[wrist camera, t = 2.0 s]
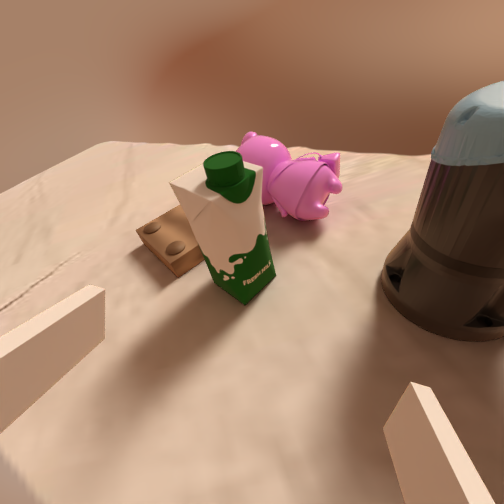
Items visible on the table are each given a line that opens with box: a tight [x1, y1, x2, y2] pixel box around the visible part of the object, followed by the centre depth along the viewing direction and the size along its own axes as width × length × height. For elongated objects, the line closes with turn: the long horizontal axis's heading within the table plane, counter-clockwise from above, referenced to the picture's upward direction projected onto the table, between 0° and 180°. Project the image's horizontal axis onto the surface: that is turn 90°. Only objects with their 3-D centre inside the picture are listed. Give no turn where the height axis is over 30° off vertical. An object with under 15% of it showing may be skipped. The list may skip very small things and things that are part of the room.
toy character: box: [236, 132, 342, 221], centre depth 51 cm, size 16×13×25 cm
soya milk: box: [169, 151, 276, 305], centre depth 34 cm, size 9×9×20 cm
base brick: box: [136, 205, 205, 278], centre depth 50 cm, size 14×14×4 cm
